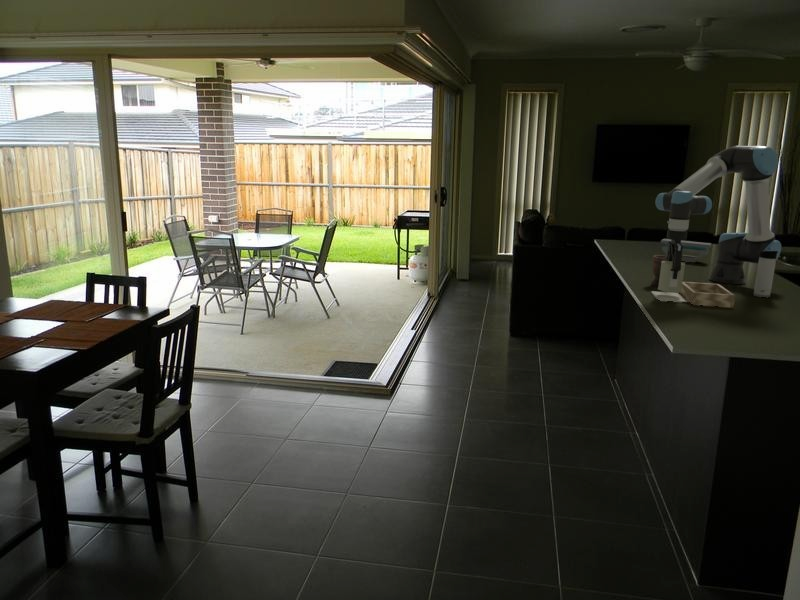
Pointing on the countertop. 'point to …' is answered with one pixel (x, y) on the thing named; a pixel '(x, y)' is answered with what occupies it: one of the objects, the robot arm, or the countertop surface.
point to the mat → (668, 296)
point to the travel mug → (765, 273)
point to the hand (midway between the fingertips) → (670, 284)
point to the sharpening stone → (689, 249)
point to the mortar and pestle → (657, 268)
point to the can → (666, 275)
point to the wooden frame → (707, 294)
